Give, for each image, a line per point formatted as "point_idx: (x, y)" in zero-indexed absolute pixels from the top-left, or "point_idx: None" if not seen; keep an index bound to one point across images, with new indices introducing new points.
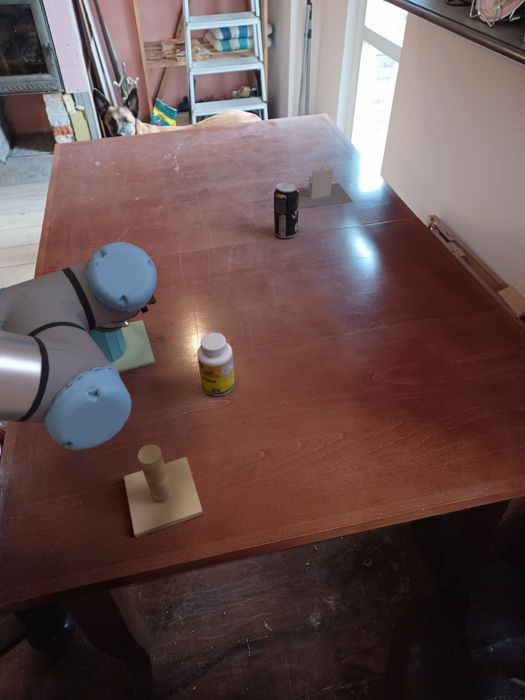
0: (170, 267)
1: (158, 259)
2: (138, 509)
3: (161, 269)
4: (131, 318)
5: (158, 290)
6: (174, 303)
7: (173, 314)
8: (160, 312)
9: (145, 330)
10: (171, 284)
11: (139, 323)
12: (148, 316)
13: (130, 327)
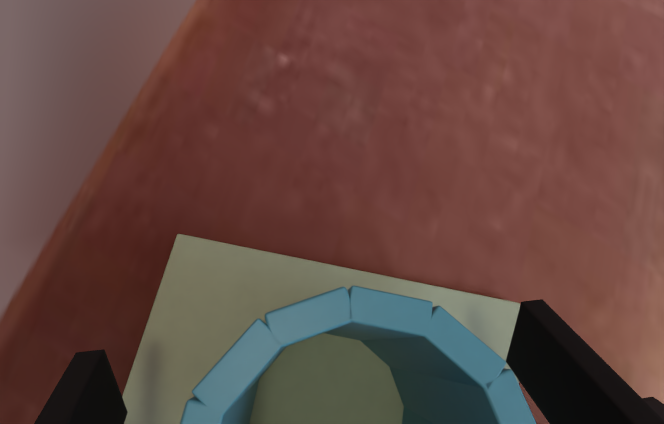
0: (654, 71)
1: (620, 16)
2: None
3: (623, 65)
4: (519, 371)
5: (597, 160)
6: (644, 262)
7: (632, 325)
8: (585, 284)
9: (517, 381)
10: (646, 154)
11: (503, 319)
12: (537, 282)
13: (464, 324)
